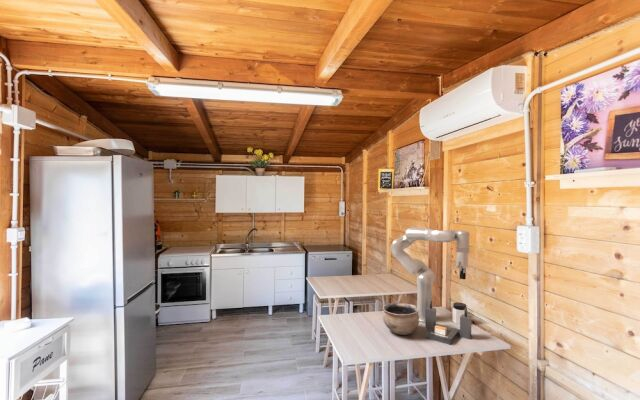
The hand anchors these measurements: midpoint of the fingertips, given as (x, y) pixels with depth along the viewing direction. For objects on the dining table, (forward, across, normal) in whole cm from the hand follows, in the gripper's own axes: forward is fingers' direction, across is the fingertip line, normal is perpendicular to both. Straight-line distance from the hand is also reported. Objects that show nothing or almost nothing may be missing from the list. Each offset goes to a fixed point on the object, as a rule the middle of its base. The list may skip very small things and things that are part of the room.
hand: (462, 278), depth 202 cm
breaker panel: (+31, +21, -5) cm, 38 cm away
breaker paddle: (+28, +25, -5) cm, 38 cm away
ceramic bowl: (+31, +32, -27) cm, 52 cm away
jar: (+31, -8, -4) cm, 33 cm away
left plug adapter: (+31, +13, -16) cm, 37 cm away
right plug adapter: (+31, +13, +6) cm, 34 cm away
